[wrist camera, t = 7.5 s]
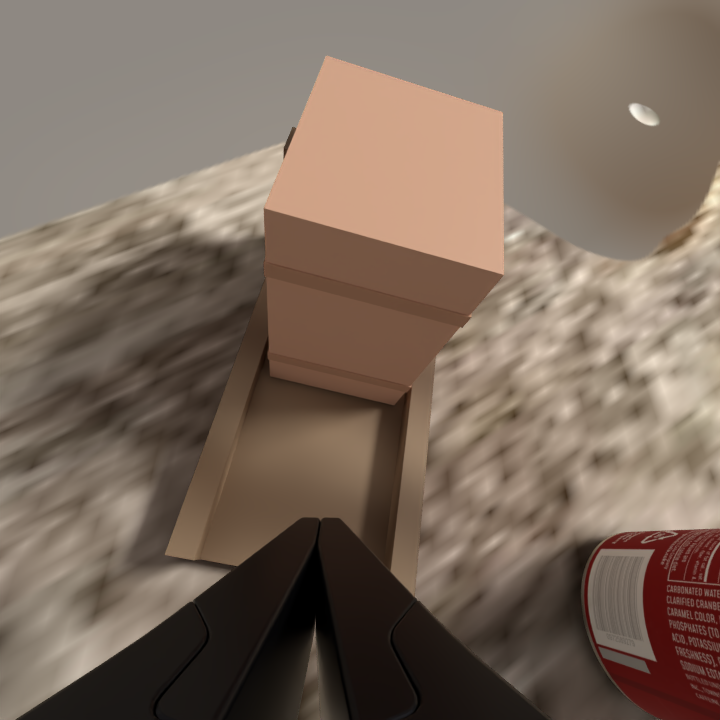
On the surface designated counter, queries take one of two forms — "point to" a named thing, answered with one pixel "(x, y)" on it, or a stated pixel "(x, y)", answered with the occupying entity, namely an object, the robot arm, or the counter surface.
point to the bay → (306, 463)
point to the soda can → (658, 619)
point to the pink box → (380, 231)
